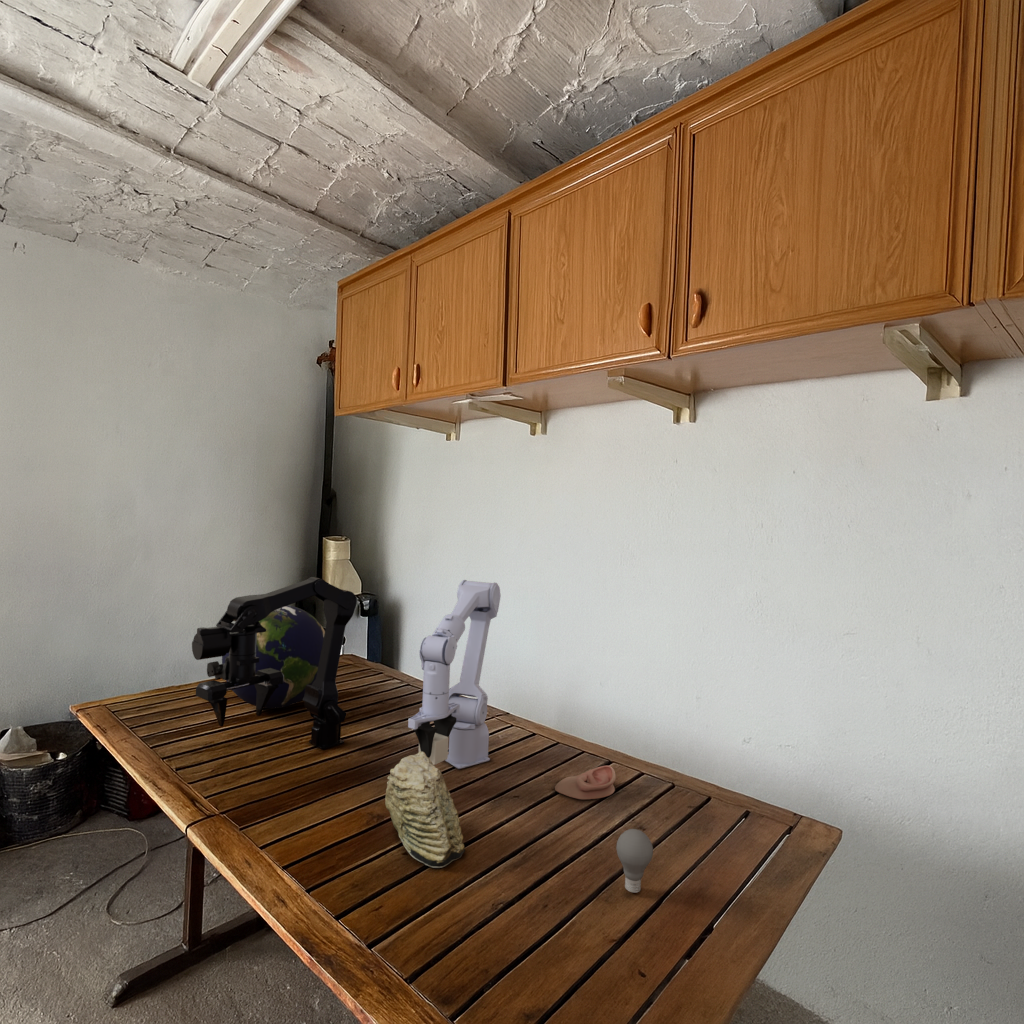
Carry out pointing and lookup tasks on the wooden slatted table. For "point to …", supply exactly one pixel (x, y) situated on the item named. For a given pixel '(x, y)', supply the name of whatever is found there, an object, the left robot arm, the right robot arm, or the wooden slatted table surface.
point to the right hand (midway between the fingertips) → (433, 752)
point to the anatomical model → (589, 784)
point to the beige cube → (438, 749)
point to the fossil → (424, 812)
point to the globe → (287, 655)
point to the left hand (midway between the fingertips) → (240, 720)
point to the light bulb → (634, 857)
